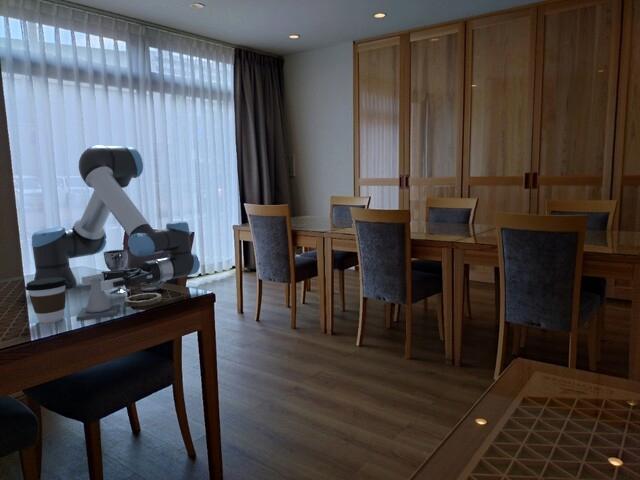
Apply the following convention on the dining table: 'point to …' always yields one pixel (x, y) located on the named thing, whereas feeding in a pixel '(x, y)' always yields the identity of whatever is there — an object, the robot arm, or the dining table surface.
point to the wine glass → (116, 264)
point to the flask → (97, 297)
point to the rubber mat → (98, 313)
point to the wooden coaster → (132, 303)
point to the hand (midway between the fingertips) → (91, 283)
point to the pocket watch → (153, 286)
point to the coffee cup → (48, 298)
